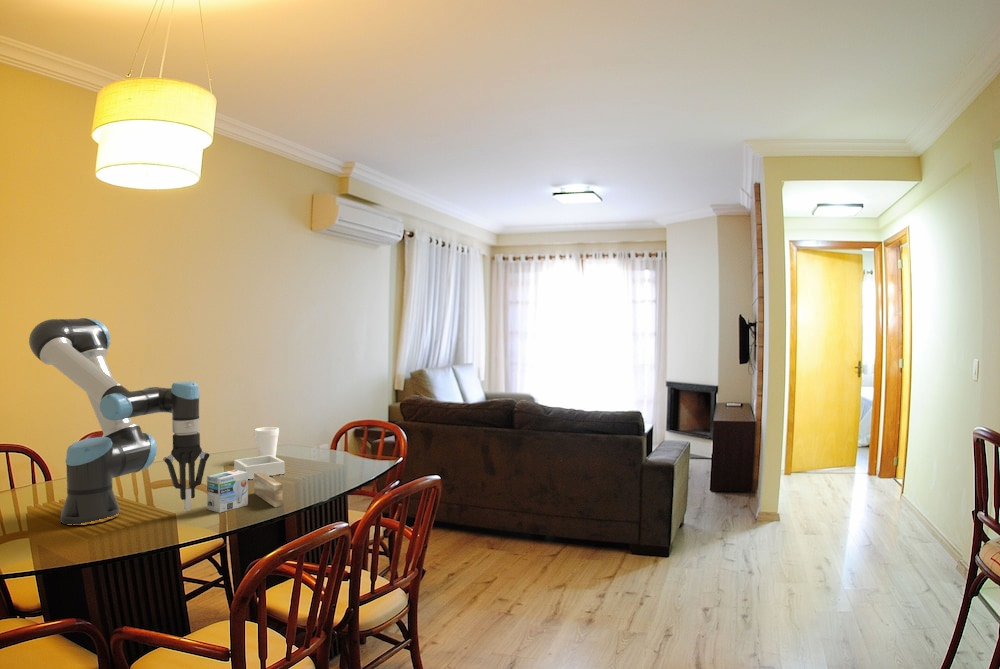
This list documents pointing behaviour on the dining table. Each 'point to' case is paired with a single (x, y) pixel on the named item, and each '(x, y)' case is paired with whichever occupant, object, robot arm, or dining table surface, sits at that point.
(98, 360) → the robot arm
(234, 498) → the light bulb box
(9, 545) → the dining table surface
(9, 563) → the dining table surface
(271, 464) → the frame
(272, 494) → the board
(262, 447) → the foam cup
